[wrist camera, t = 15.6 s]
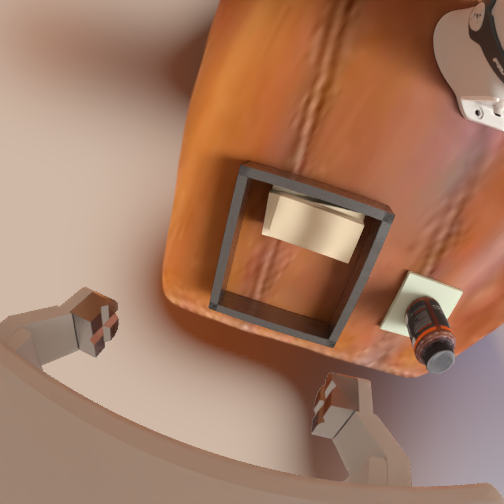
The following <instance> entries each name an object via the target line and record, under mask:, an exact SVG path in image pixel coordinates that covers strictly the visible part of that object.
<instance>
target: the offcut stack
mask: <svg viewBox="0 0 504 504" xmlns="http://www.w3.org/2000/svg"><path fill="white" fill-rule="evenodd" d="M364 218H365V214H362V213H359V212H356V211H353V210H350V209H347V208H345V207H342V206H339V205H336V204H333V203H330V202H327V201H324V200H321V199H318V198H314V197H311V196H308V195H305V194H302V193H299V192H296V191H292V190H289V189H286V188H283V187H279V186H276V185H273V188H272V189H271V191H270V192H269V196H268V202H267V208H266V213H265V219H264V225H263V231H262V235H266V236H270V237H274V238H277V239H280V240H283V241H285V242H288V243H291V244H294V245H297V246H300V247H303V248H305V249H308V250H311V251H314V252H317V253H320V254H323V255H325V256H328V257H331V258H334V259H337V260H339V261H342V262H345V263H349V260H350V258H351V256H352V254H353V251H354V249H355V247H356V245H357V242H358V240H359V238H360V235H361V233H362V230H363V228H364V223H363V221H364Z"/></svg>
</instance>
